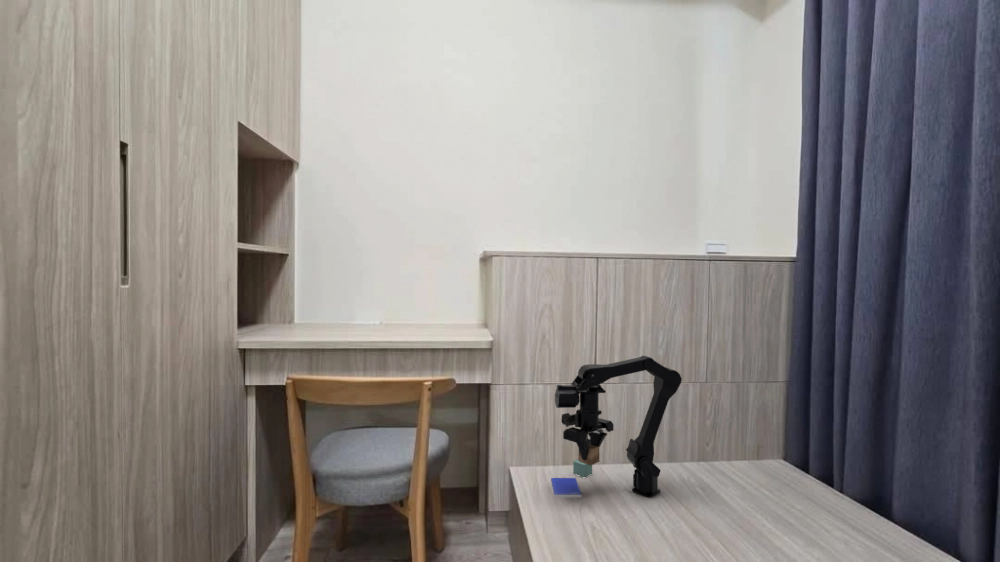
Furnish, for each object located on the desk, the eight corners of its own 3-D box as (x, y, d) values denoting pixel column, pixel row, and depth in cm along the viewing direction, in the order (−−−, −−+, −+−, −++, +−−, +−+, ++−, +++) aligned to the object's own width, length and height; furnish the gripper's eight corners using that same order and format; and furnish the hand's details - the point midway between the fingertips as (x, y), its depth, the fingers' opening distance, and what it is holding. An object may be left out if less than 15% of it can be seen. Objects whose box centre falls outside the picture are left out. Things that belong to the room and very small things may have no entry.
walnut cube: (599, 461, 147) (599, 446, 147) (590, 465, 144) (590, 450, 144) (587, 457, 150) (587, 443, 151) (578, 461, 147) (578, 446, 147)
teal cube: (592, 474, 163) (592, 461, 163) (584, 478, 160) (584, 464, 160) (581, 471, 166) (581, 457, 166) (573, 474, 163) (573, 461, 163)
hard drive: (581, 494, 146) (575, 477, 158) (554, 493, 146) (550, 477, 158) (581, 499, 146) (575, 482, 158) (554, 499, 146) (550, 482, 158)
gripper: (585, 397, 160) (585, 444, 160) (549, 407, 147) (548, 458, 147) (614, 403, 152) (614, 453, 152) (579, 414, 139) (578, 468, 139)
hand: (588, 458), depth 147 cm, fingers closed on walnut cube, 4 cm apart
